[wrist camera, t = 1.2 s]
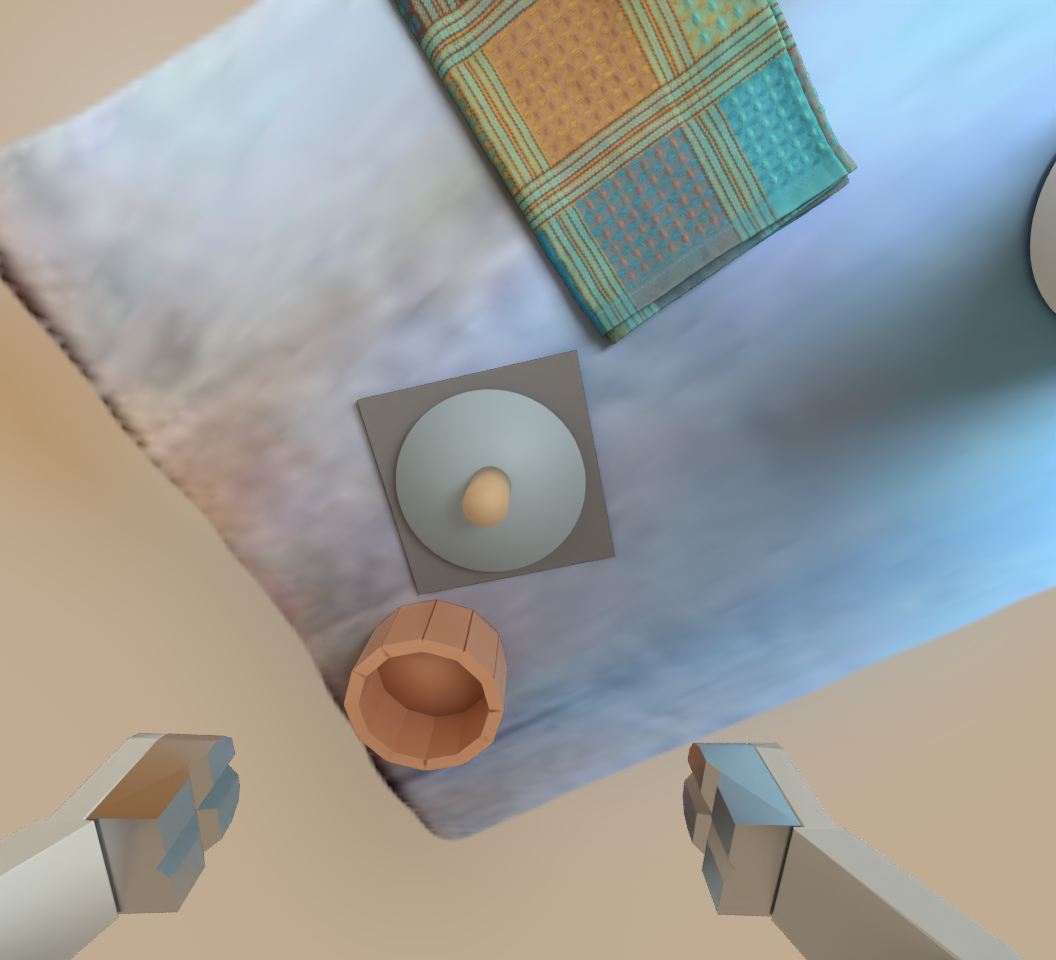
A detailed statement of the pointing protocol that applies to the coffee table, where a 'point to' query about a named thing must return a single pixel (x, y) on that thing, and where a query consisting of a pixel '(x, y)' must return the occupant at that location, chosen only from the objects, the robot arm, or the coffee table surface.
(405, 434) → the mat
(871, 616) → the coffee table surface
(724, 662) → the coffee table surface
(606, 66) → the dish towel
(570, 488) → the lid
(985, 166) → the coffee table surface
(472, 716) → the bowl
